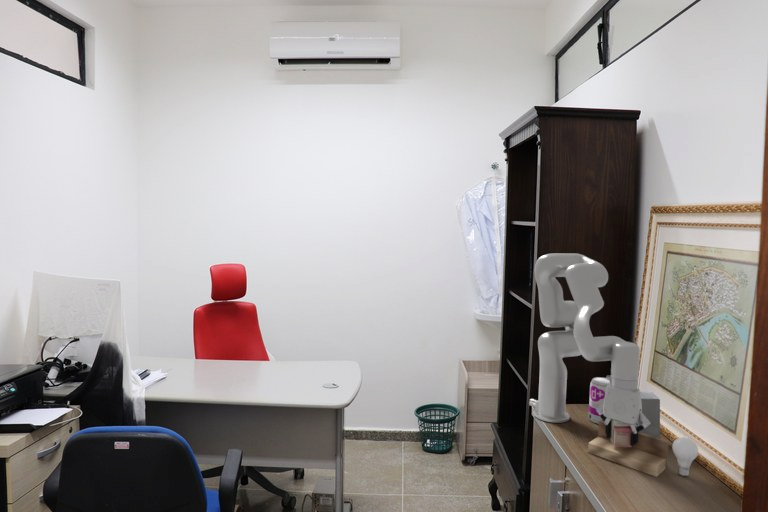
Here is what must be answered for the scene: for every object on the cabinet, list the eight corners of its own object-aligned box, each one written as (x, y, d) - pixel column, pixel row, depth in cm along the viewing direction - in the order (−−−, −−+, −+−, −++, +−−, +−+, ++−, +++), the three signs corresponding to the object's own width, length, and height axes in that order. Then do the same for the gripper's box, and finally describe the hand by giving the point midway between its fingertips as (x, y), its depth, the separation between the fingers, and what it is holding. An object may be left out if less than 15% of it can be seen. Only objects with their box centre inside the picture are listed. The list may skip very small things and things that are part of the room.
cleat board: (587, 452, 159) (589, 427, 158) (599, 444, 164) (600, 420, 164) (656, 476, 144) (658, 449, 144) (667, 467, 150) (668, 440, 149)
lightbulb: (666, 469, 148) (668, 433, 148) (688, 470, 148) (690, 434, 147) (677, 480, 142) (680, 442, 141) (701, 481, 142) (703, 443, 141)
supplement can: (602, 427, 178) (604, 385, 177) (583, 418, 185) (585, 378, 184) (618, 423, 182) (620, 382, 181) (599, 415, 189) (601, 375, 188)
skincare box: (660, 448, 162) (663, 400, 161) (636, 445, 164) (639, 398, 163) (652, 437, 171) (655, 391, 169) (629, 435, 172) (632, 389, 171)
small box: (614, 446, 153) (615, 421, 153) (610, 440, 157) (611, 415, 157) (632, 447, 153) (633, 422, 152) (627, 441, 157) (628, 416, 156)
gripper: (590, 378, 157) (587, 435, 159) (650, 393, 145) (646, 454, 146) (600, 374, 163) (598, 428, 164) (659, 387, 150) (656, 446, 151)
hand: (621, 440), depth 155 cm, fingers closed on small box, 6 cm apart
